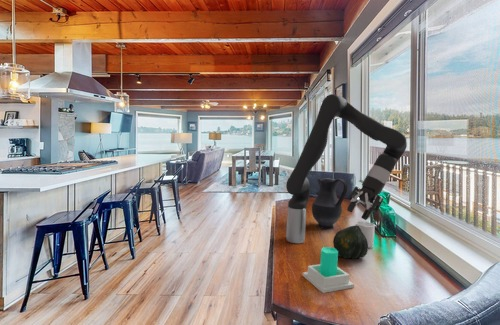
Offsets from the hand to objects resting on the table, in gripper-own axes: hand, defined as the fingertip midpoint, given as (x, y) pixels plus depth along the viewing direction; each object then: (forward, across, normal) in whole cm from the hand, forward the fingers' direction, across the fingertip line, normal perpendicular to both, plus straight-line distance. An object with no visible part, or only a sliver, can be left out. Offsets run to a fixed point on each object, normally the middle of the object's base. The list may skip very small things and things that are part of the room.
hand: (356, 215), depth 114 cm
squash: (+17, -10, +18) cm, 27 cm away
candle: (+26, +7, -4) cm, 27 cm away
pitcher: (+13, -49, +33) cm, 60 cm away
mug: (+10, -21, +34) cm, 41 cm away
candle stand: (+26, +7, -3) cm, 28 cm away
